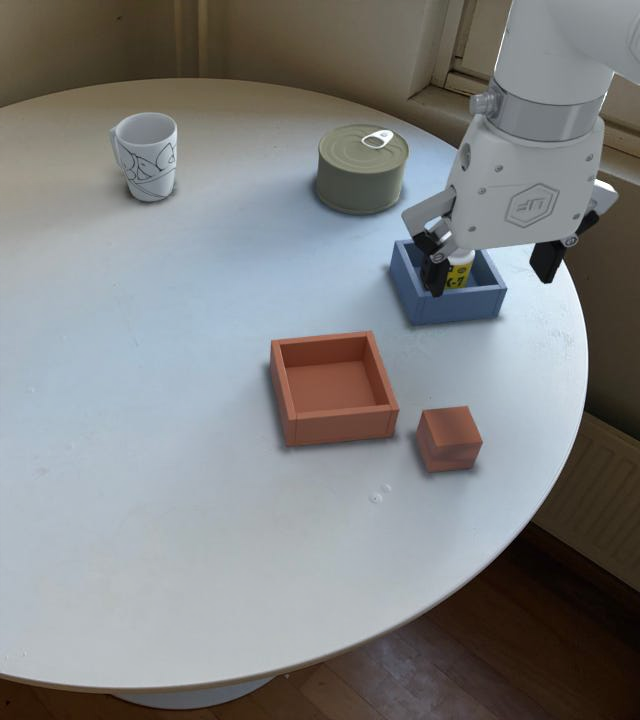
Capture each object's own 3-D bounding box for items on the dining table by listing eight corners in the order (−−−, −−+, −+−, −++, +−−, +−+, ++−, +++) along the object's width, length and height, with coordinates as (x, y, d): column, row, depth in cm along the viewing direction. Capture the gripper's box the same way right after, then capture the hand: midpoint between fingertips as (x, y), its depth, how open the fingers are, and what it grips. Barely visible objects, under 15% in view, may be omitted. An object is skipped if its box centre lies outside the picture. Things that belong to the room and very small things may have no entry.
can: (296, 191, 109) (299, 148, 104) (351, 155, 114) (357, 113, 109) (364, 227, 102) (370, 184, 97) (419, 188, 107) (428, 145, 102)
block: (457, 432, 79) (467, 405, 76) (472, 468, 76) (483, 442, 73) (414, 436, 79) (422, 409, 76) (427, 472, 76) (436, 446, 73)
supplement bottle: (421, 300, 92) (435, 245, 85) (422, 274, 95) (435, 219, 88) (463, 304, 91) (480, 250, 84) (463, 278, 94) (479, 223, 87)
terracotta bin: (366, 358, 87) (372, 330, 84) (392, 436, 80) (400, 409, 76) (269, 367, 87) (270, 339, 84) (286, 446, 80) (288, 420, 76)
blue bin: (469, 261, 97) (477, 232, 93) (497, 317, 90) (508, 288, 86) (389, 268, 97) (394, 240, 93) (411, 325, 90) (418, 297, 87)
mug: (96, 185, 113) (87, 125, 106) (135, 159, 117) (128, 99, 110) (153, 214, 108) (147, 152, 100) (192, 185, 112) (189, 124, 104)
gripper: (441, 145, 52) (402, 321, 65) (690, 115, 53) (602, 297, 65) (407, 91, 58) (376, 264, 70) (634, 64, 58) (562, 241, 70)
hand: (485, 280), depth 68 cm, fingers open, 9 cm apart
